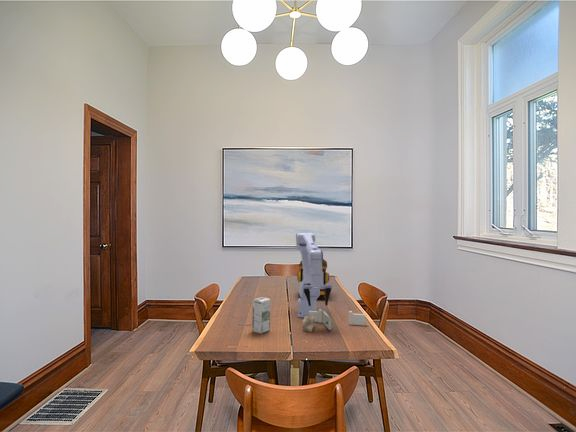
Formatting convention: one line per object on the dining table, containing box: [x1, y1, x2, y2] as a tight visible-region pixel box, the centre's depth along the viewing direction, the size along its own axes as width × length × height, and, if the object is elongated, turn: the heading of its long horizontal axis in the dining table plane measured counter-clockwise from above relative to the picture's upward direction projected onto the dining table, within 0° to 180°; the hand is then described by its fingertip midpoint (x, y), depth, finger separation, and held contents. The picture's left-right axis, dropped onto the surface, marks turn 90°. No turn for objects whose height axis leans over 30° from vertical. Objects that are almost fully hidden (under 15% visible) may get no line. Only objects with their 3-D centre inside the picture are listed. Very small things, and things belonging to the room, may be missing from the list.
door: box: [322, 310, 332, 331], centre depth 157 cm, size 11×2×5 cm, turn 8°
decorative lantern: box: [296, 258, 331, 299], centre depth 210 cm, size 20×20×30 cm
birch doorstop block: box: [302, 316, 315, 333], centre depth 155 cm, size 4×8×4 cm, turn 168°
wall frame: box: [309, 308, 366, 326], centre depth 161 cm, size 27×2×6 cm, turn 78°
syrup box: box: [251, 296, 271, 335], centre depth 151 cm, size 6×6×14 cm
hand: (318, 305), depth 154 cm, fingers open, 7 cm apart
